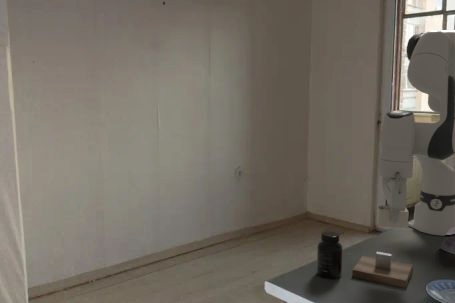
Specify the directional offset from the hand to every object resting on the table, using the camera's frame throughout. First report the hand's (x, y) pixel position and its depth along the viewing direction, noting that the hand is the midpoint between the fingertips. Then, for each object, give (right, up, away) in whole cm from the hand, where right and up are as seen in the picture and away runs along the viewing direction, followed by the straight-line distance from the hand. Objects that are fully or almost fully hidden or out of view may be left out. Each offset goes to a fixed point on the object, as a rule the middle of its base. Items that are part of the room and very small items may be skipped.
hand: (392, 218), depth 127 cm
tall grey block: (-2, -14, 0) cm, 14 cm away
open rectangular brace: (0, -2, 0) cm, 2 cm away
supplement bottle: (-18, -16, 0) cm, 24 cm away
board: (-2, -16, 0) cm, 16 cm away
